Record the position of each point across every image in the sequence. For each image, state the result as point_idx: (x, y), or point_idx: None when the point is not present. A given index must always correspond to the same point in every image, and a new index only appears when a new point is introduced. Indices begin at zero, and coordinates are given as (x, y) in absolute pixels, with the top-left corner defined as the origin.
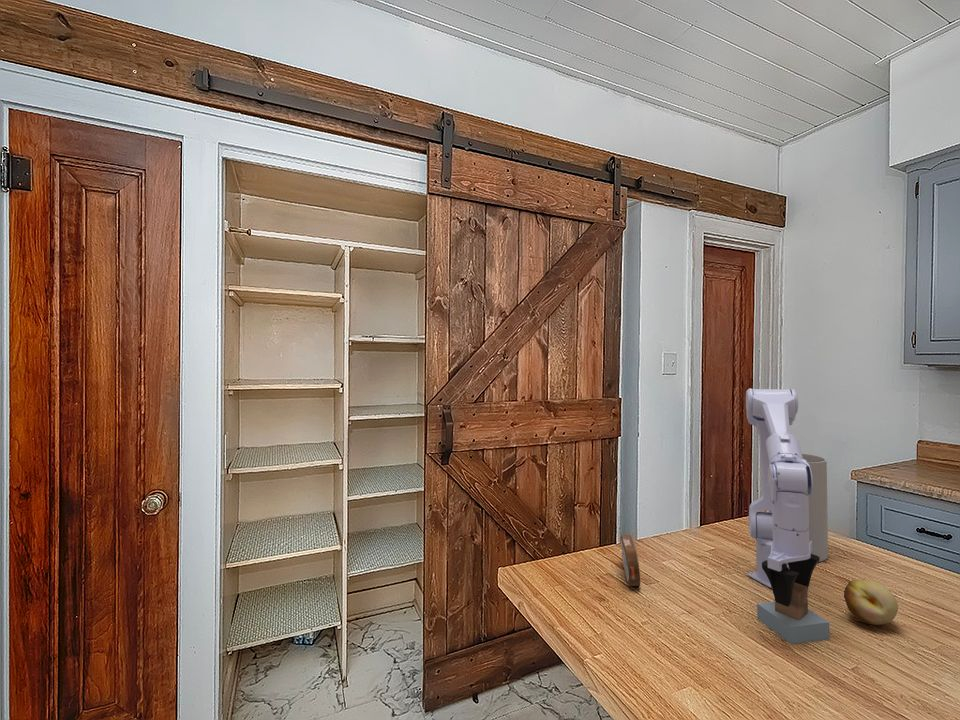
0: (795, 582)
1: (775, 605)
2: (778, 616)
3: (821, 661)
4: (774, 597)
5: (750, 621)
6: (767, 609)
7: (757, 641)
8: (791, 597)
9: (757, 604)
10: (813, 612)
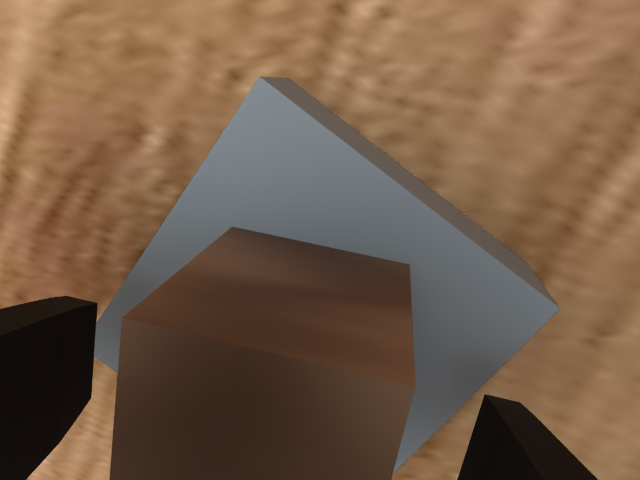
0: (495, 474)
1: (217, 243)
2: (161, 262)
3: (95, 427)
4: (35, 301)
5: (220, 48)
6: (212, 174)
7: (20, 147)
8: (28, 474)
9: (257, 81)
10: (413, 448)
